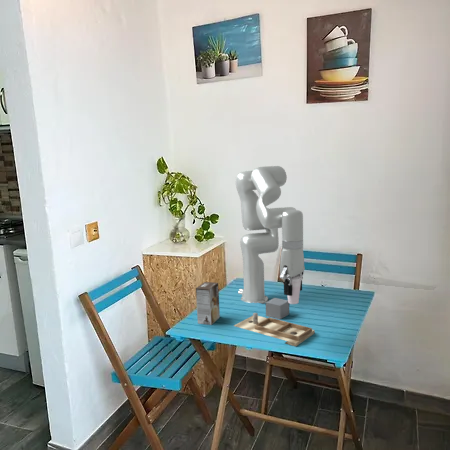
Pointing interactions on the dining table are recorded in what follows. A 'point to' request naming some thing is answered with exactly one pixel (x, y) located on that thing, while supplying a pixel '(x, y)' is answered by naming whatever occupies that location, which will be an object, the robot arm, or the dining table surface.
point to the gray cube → (277, 308)
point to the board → (277, 329)
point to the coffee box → (207, 303)
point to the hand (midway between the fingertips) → (293, 292)
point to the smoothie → (295, 289)
